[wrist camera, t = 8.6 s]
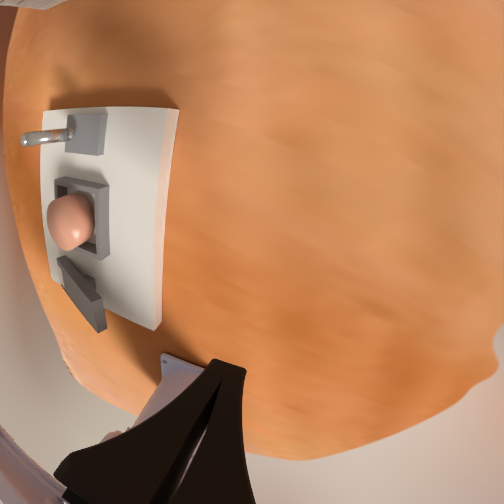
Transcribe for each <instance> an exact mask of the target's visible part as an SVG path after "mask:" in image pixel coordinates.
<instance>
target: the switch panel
mask: <svg viewBox="0 0 504 504" xmlns="http://www.w3.org/2000/svg"><path fill="white" fill-rule="evenodd" d="M179 111H180V110H178V109H170V108H156V107H86V108H71V109H59V110H50V111H44V113H43V122H42V131H43V130H52V129H63V128H72V129H73V130H74V131H75V136H74V138H73V139H72V140H71V141H68V142H58V143H49V144H41V155H40V184H41V204H42V217H43V227H44V235H45V242H46V249H47V255H48V261H49V267H50V272H51V277H52V280H54V281H56V282H57V283H59V284H61V281H60V276H59V271H58V265H57V259H56V258H58V257H61V256H64V255H65V256H66V257H67V258H68V259H69V261H70V262H71V263H72V264H73V265H74V267H75V268H76V269H77V270H78V271H79V273H80V274H81V275H82V276H83V277H84V278H85V279H86V281H87V282H88V283H89V284H90V285H91V286H92V287H93V288H94V289H95V291H96V292H97V293H98V294H99V295H100V296H101V297H102V299H103V306H104V308H105V309H107V310H109V311H111V312H113V313H115V314H117V315H119V316H122V317H124V318H126V319H128V320H130V321H132V322H134V323H137V324H139V325H141V326H143V327H146V328H148V329H150V330H152V331H155V329H156V328H157V327H158V326H159V324H160V323H161V322H162V273H163V249H164V233H165V219H166V207H167V197H168V187H169V178H170V170H171V162H172V154H173V147H174V141H175V134H176V128H177V122H178V116H179ZM71 193H80V194H82V195H83V196H84V197H85V198H86V199H87V200H88V202H89V203H90V205H91V207H92V210H93V213H94V218H95V230H94V234H93V236H92V237H91V238H90V239H89V240H88V241H86V242H84V243H82V244H81V245H79V246H77V247H75V248H74V249H72V250H70V251H65V250H63V249H61V248H60V247H59V246H57V244H56V243H55V242H54V240H53V239H52V237H51V235H50V232H49V229H48V225H47V217H46V216H47V208H48V206H49V204H50V202H51V201H53V200H55V199H57V198H60V197H63V196H66V195H68V194H71Z"/></svg>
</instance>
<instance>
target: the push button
mask: <svg viewBox="0 0 504 504" xmlns="http://www.w3.org/2000/svg"><path fill="white" fill-rule="evenodd" d="M46 217H47V225H48V229H49V232H50V235H51V237H52V239H53V240H54V242H55V243H56V244H57V246H59V247H60V248H61V249H63V250H65V251H70V250H72V249H74V248H75V247H77V246H79V245H81V244H82V243H84V242H86V241H88V240H89V239H90V238H91V237H92V236H93V234H94V230H95V218H94V213H93V210H92V207H91V205H90V203H89V202H88V200H87V199H86V198H85V197H84V196H83V195H82V194H80V193H71V194H68V195H66V196H63V197H60V198H57V199H55V200H53V201H51V202H50V204H49V206H48V208H47V216H46Z"/></svg>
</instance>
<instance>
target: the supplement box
mask: <svg viewBox="0 0 504 504" xmlns="http://www.w3.org/2000/svg"><path fill="white" fill-rule="evenodd" d="M65 1H68V0H0V5H4V6H5V5H6V6H16V7H26V8H33V9H39V10H47V9H50V8H52V7H54V6H56V5H58V4H61V3H63V2H65Z"/></svg>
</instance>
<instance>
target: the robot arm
mask: <svg viewBox="0 0 504 504" xmlns="http://www.w3.org/2000/svg"><path fill="white" fill-rule="evenodd" d="M160 359H161V374H162V380H161V382H160V383H159V385H158V386H157V388H156V390H155V391H154V393H153V394H152V396H151V397H150V399H149V401H148V402H147V404H146V405H145V407H144V409H143V410H142V412H141V413H140V415H139V417H138V418H137V420H136V421H135V423H134V425H133V426H132V428H129V427H128V428H127V430H126V431H125V432H124V433H122V432H120V431H115V432H110V433H108V434H107V435H106V436H105V437H104V438H103V439H102V441H101V442H100V443H99V444H97V445H94V446H91V447H88V448H84V449H81V450H78V451H75V452H72V453H70V454H69V455H68V456H67V457H66V458H65V459H64V460H63V461H62V462H61V463H60V465H59V466H58V468H57V469H56V471H55V472H54V474H53V475H54V477H55V478H56V479H57V480H58V481H59V482H58V481H57V480H56V479H55V478H53V477H52V476H51V475H50V474H49V473H47V472H46V471H45V470H44V469H43V468H41V467H40V466H39V465H38V464H37V463H36V462H35V461H34V460H33V459H31V458H30V457H29V456H28V455H27V454H26V453H25V452H24V451H23V450H22V449H21V448H20V447H19V446H18V445H17V444H16V443H15V442H14V439H13V438H12V437H11V436H10V435H9V434H8V433H7V432H6V430H5V429H4V428H3V427H2V426H1V425H0V499H1V501H2V502H3V503H4V504H64V503H63V501H64V502H66V503H67V504H256V503H255V499H254V496H253V492H252V488H251V484H250V480H249V475H248V471H247V465H246V459H245V452H244V443H243V431H242V396H243V386H244V380H245V375H246V372H247V371H246V369H245V368H242V367H239V366H236V365H233V364H230V363H227V362H224V361H221V360H218V359H212V360H211V361H210V363H209V364H208V365H207V367H206V368H205V369H204V368H202V367H199V366H196V365H194V364H191V363H188V362H186V361H183V360H181V359H178V358H176V357H173V356H171V355H168V354H166V353H162V354H161V356H160ZM60 482H61V483H62V484H63V485H62V484H61V483H60ZM65 486H66V487H67V488H66V487H65Z"/></svg>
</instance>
